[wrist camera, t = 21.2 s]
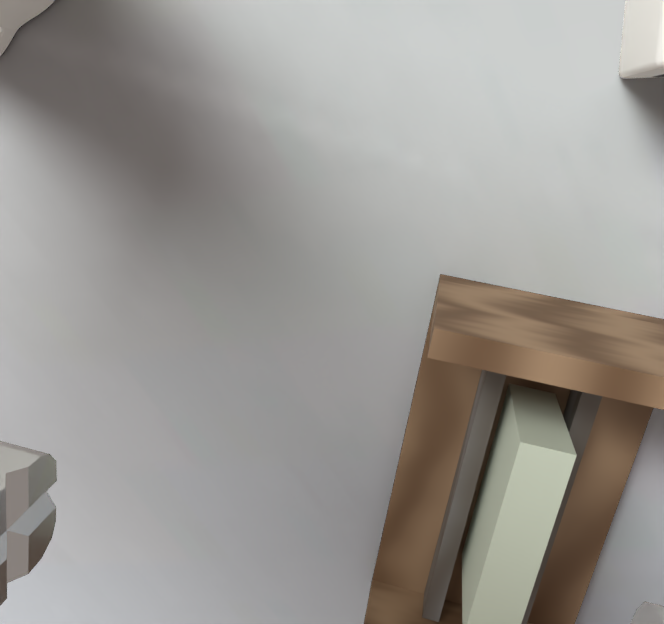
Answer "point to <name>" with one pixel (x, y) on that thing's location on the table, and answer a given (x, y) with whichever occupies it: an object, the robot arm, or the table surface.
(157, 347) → the table surface
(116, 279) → the table surface
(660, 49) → the container
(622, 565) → the table surface
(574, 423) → the cabinet base
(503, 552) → the door panel
